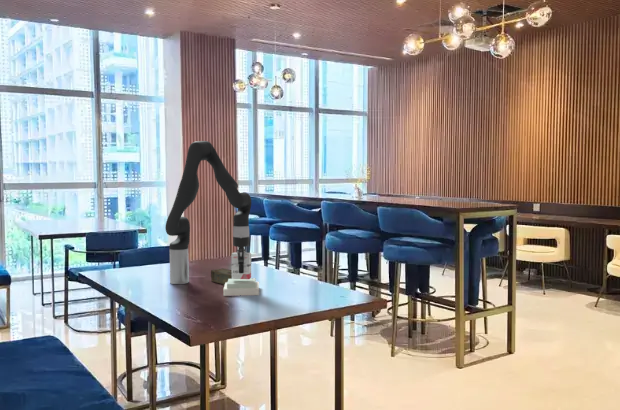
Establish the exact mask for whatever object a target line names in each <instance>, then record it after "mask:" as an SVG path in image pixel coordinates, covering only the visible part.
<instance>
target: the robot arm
mask: <svg viewBox="0 0 620 410" xmlns="http://www.w3.org/2000/svg"><path fill="white" fill-rule="evenodd" d="M203 161H206V162H207V163H208V164H209V166H211V167H212V169H213V174H214V178H215V181H216V182H217V184H218V185H219V187H220V188H221V189H222V190H223V192H224V193H225V195H226V198H227V200H228V202H229V203H230V205H231V206H232V207H234V209H237V212H236V213H235V214H233V228H232V246H233V247H238V249H236V253H237V259H238V264H239V273H244V260H245V255H244V254H245V253H247V252H246V251H247V250H246V249H245V247H246V248H247V247H249V246H250V225H249V223H250V217H249V216H250V213H251V208H252V197H251V195H250V194H249V193H247V192H240V191H239V190H238V188H239V184H238V182H237V181H236V180H235V178H234V177H233V176H232V175H231V174H230V172H229V171H228V170H227V168H226V166H225V165H224V163H223V161H222V159H221V158H220V156H219V154H218V152H217V151H216V149H215V146H214V145H213V144H212V143H211V141H210V142H209V140H208V141H207V140H197V141H193V142H192V143H190V145H189V147H188V149H187V153H186V159H185V165H184V169H183V171H182V176H181V179H180V182H179V186H178V188H177V192H176V196H175V199H174V201H173V204H172V206H171V207H172V208H171V210H170V212H169V214H168V216H167V219H166V222H165V233H166V234H167V235H168V236H170V237H171V236H172V237H176V239H175V240H173V241H172V242H170V243H169V283H170V284H171V285H172V284H173V285H183V284H189V281H190V277H189V275H190V272H189V270H190V269H189V265H190V263H189V244H190V235H191V234H190V233H191V224H190V220H189V219H188V217H186V216H183V213H184V212H185V211H186V210H187V209H188V207H190V205H191V204H192V203H193V202H194V201H195V200H196V197H197V195H198V191H199V187H200V182H199V177H198V176H199V175H198V170H199V166H200V164H201V162H203ZM240 260H243V262H240Z"/></svg>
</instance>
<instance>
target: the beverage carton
mask: <svg viewBox="0 0 620 410" xmlns="http://www.w3.org/2000/svg"><path fill="white" fill-rule="evenodd" d="M210 277H211V278H210V279H211V282H214V283H215V284H216V283H217V284H219V285H220V284H221V285H223V286H225V282H228V279H232V269H228V268H223V267H222V268H216V269H211V271H210Z"/></svg>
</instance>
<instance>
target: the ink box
mask: <svg viewBox="0 0 620 410" xmlns="http://www.w3.org/2000/svg"><path fill="white" fill-rule="evenodd" d="M244 255H245V260H244V273H239V264H238V259H237V252H232V253H231V257H230V258H231V270H232V279H250V278H252V253H251V252H246V253H245V254H244ZM240 262H243V260H240Z"/></svg>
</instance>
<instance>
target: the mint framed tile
mask: <svg viewBox="0 0 620 410" xmlns="http://www.w3.org/2000/svg"><path fill="white" fill-rule="evenodd" d="M223 286H224V287H223V295H222V296H223V297H229V296H231V297H233V296H234V297H235V296H236V297H238V296H239V297H240V295H241V296H260V282H259V281H257V278H255V277H253V278H252V277H251V278H250V279H228V282H225V285H223Z"/></svg>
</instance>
